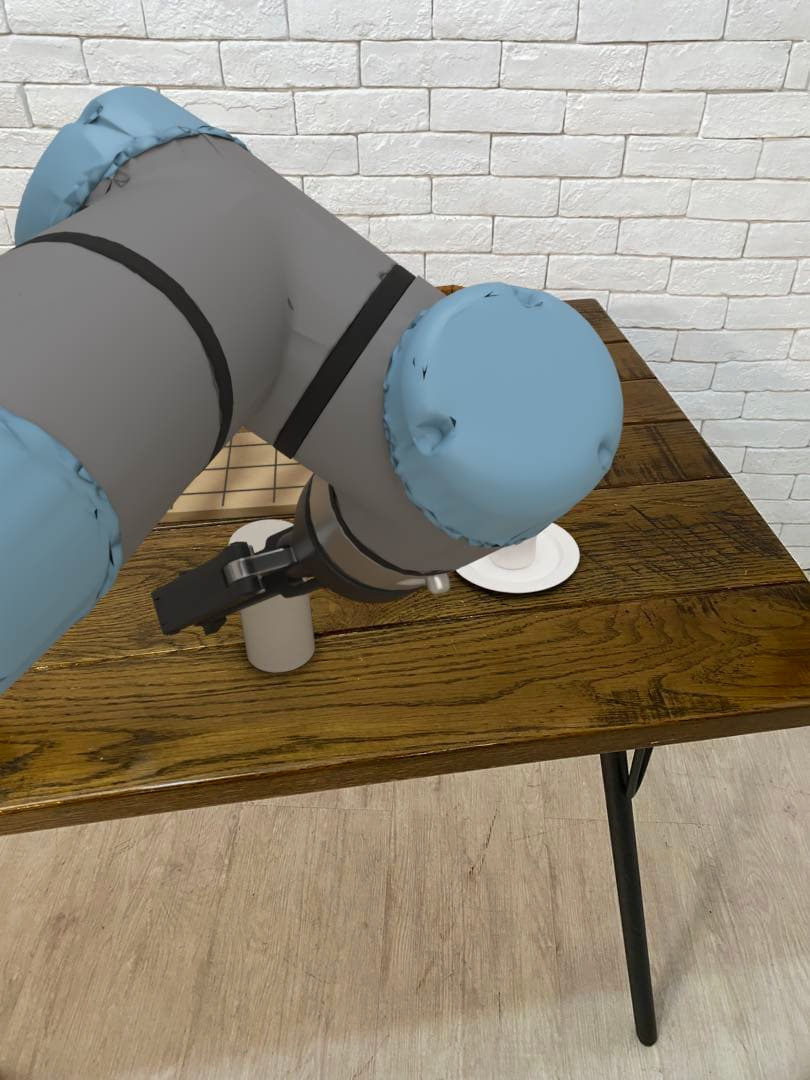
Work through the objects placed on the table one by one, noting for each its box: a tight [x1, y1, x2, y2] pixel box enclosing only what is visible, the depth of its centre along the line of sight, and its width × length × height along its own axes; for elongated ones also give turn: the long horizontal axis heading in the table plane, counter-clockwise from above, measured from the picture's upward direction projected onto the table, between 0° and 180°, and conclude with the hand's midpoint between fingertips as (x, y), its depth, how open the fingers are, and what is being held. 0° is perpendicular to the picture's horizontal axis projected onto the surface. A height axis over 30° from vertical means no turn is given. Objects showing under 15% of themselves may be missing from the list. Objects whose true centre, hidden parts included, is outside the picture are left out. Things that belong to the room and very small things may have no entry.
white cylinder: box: [228, 518, 316, 673], centre depth 73 cm, size 6×6×11 cm
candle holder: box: [455, 522, 581, 594], centre depth 84 cm, size 12×12×4 cm
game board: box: [158, 431, 313, 524], centre depth 97 cm, size 20×15×1 cm
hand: (305, 584), depth 61 cm, fingers open, 13 cm apart
